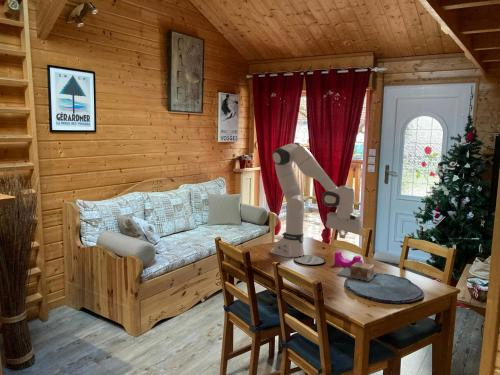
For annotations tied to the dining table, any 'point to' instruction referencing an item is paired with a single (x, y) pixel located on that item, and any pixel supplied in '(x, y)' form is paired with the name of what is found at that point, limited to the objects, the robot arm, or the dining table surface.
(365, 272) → the walnut block
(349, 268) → the mat
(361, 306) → the dining table surface
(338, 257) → the toy block
